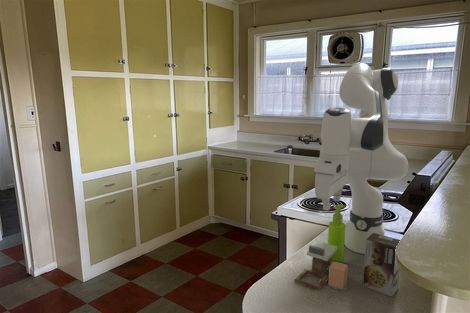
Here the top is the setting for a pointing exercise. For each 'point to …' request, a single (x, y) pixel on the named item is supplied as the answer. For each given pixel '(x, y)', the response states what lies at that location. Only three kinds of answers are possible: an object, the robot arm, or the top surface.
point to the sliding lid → (322, 251)
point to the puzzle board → (315, 273)
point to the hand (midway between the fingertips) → (331, 204)
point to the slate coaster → (337, 287)
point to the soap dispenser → (337, 234)
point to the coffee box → (381, 264)
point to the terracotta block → (337, 275)
